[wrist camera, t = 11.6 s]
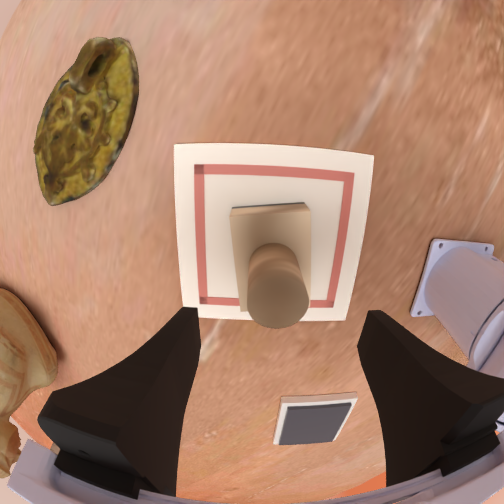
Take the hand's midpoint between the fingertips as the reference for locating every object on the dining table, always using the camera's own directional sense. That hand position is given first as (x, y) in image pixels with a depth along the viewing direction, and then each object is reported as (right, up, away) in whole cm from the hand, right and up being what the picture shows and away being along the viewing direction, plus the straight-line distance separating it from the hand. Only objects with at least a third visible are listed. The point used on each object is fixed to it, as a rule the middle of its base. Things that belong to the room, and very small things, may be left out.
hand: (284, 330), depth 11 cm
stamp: (0, +3, +9) cm, 10 cm away
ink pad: (+6, -18, +19) cm, 27 cm away
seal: (-15, +14, +6) cm, 21 cm away
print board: (0, +4, +10) cm, 10 cm away
